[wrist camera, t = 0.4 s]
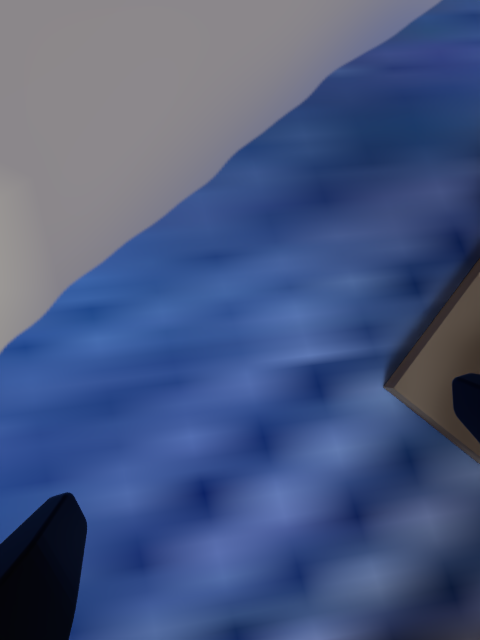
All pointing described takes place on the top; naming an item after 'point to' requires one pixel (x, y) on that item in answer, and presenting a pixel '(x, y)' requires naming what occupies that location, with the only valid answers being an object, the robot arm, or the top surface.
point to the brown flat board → (444, 364)
